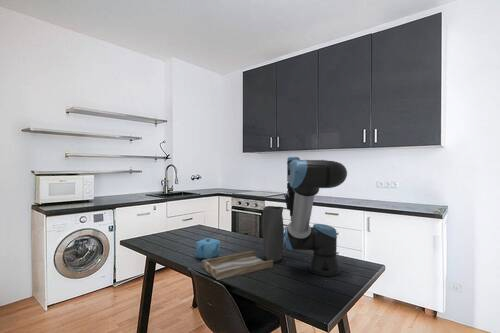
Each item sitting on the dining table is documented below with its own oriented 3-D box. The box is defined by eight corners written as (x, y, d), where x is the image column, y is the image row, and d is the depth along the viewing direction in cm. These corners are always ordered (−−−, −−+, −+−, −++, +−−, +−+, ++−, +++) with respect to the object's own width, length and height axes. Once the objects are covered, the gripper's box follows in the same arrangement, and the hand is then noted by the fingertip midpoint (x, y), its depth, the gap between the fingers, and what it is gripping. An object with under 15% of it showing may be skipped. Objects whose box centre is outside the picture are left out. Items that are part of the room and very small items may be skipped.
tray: (273, 267, 144) (273, 259, 144) (217, 280, 126) (217, 271, 126) (253, 256, 160) (253, 249, 160) (202, 267, 143) (202, 259, 143)
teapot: (205, 251, 168) (205, 233, 168) (228, 256, 159) (229, 237, 159) (187, 259, 155) (187, 239, 155) (211, 265, 146) (212, 244, 146)
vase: (286, 257, 158) (286, 206, 158) (279, 264, 147) (280, 209, 147) (266, 254, 163) (267, 205, 163) (258, 261, 152) (259, 208, 152)
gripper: (297, 181, 170) (297, 219, 170) (280, 182, 163) (280, 221, 163) (305, 182, 163) (305, 221, 163) (289, 183, 157) (288, 223, 157)
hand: (293, 221), depth 163 cm, fingers closed
